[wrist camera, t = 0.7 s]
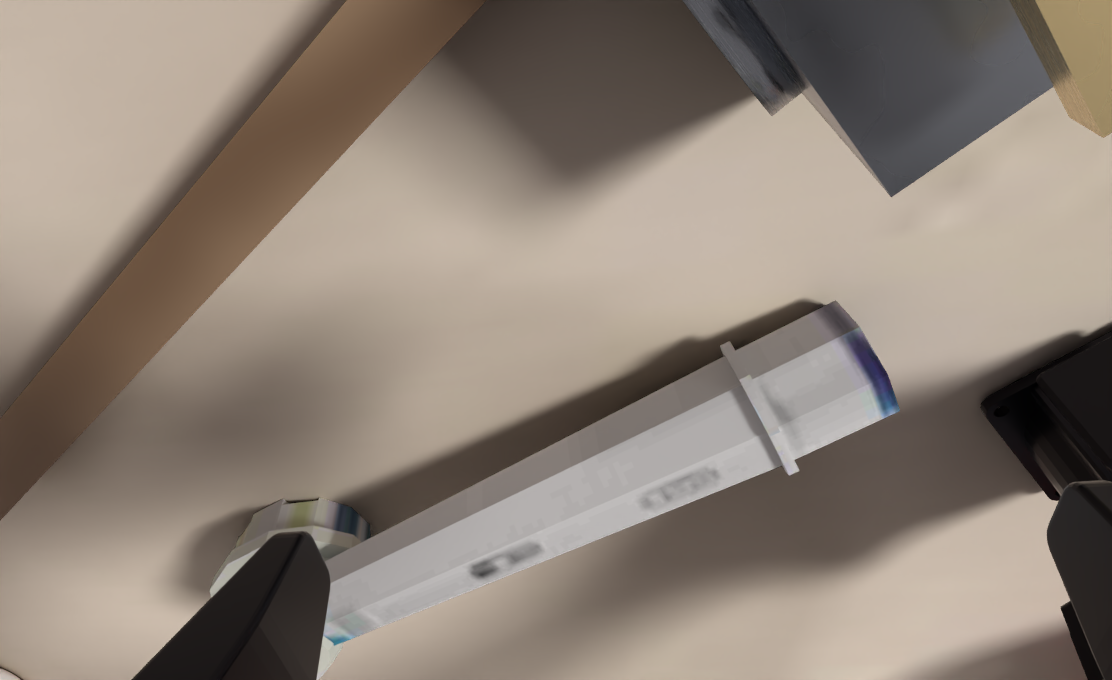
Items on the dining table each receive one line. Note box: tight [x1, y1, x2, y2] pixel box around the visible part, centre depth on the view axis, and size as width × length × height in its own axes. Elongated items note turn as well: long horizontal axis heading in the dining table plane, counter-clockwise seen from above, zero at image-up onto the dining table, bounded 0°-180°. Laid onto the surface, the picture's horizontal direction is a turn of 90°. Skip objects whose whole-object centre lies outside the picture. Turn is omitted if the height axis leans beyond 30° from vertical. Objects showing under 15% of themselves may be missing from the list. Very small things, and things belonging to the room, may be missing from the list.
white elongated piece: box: [210, 301, 900, 680], centre depth 25 cm, size 5×7×25 cm
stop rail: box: [0, 0, 486, 520], centre depth 20 cm, size 2×28×2 cm, turn 133°
